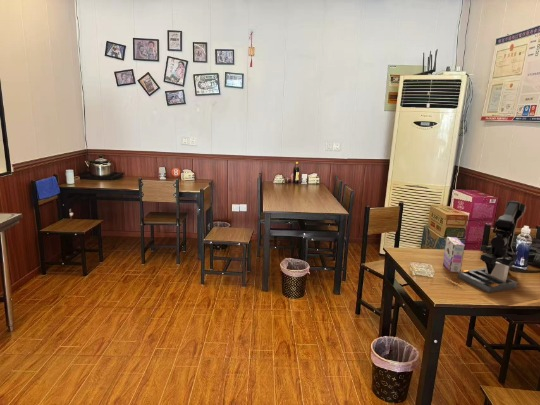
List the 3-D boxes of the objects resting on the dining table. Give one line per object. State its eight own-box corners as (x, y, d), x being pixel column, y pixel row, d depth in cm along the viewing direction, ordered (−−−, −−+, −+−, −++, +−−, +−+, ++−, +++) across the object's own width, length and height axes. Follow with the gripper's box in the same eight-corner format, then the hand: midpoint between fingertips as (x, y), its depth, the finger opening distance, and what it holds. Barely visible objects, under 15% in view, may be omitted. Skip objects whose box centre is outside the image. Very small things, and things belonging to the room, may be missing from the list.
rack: (484, 275, 194) (485, 267, 193) (516, 289, 177) (518, 281, 176) (457, 279, 187) (458, 271, 186) (488, 295, 171) (489, 286, 170)
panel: (487, 277, 189) (490, 259, 187) (505, 285, 180) (509, 266, 177) (483, 277, 188) (487, 259, 186) (501, 285, 179) (505, 267, 177)
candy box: (460, 274, 194) (465, 245, 190) (449, 273, 195) (453, 244, 191) (453, 264, 207) (457, 237, 203) (442, 263, 208) (446, 236, 204)
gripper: (499, 237, 190) (494, 264, 193) (473, 240, 183) (468, 268, 187) (520, 244, 180) (514, 273, 183) (493, 247, 173) (487, 277, 177)
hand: (496, 272), depth 183 cm, fingers open, 9 cm apart
